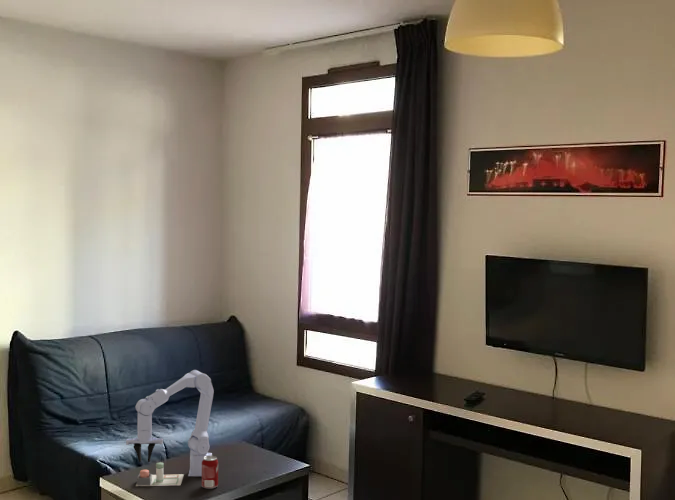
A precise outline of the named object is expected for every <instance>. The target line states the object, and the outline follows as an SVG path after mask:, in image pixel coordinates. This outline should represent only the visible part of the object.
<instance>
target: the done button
mask: <svg viewBox="0 0 675 500" xmlns="http://www.w3.org/2000/svg"><path fill="white" fill-rule="evenodd" d="M139 474H140V478H149V474H150V470H149V469H141V470H140V471H139Z"/></svg>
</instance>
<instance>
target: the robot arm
mask: <svg viewBox="0 0 675 500" xmlns="http://www.w3.org/2000/svg"><path fill="white" fill-rule="evenodd" d="M186 388H192V389H193V388H194V389H195V388H196V389H197V391H198V392H199V393H200V397H199V402H198V406H197V407H198V408H197V415H196V419H195V424H194V425H195V426H194V430H193V431H192V432H191V435H190V437H189V438H188V441H187V446H188V448H189V449H190V451H189V472H188V474H187V477H202V461H203V458H204V457H206V456H213V453H212V452H209V451H210V447H211V446H210V442H209V440H210V437H209V433H208V428H209V421H210V416H211V409H212V406H213V405H212V404H213V399H214V393H215V392H214V391H215V390H214V387H213V383H212V379H211V377H209V375H207V374H206V373H203V372H201V371H199V370H197V369H193V370H191V371H190V372H188V373H185V374H184V376H182V377H181V378H180V379H178V380H176V381H175V382H174V383H172V384H171V385H170V386H168V387H166V388H165V389H163V388H160V389H159V388H157V389H156V390H155V392H153V393H151V394H150V395H147V396H146V397H145V398H141V399H139V400H138V401H137V402H136V405H134V406H135V407H134V408H135V410H136V412H137V426H136V427H137V437H133V438H127V439H126V440H125V442H126V443H125V445H126V446H130V445H133V449H134V451H135V453H136V456H137V460H138V463H142V445H147V463H149V462H151V457H152V454H153V451H154V448H155V445H163V443H164V438H160V437H159V438H157V437H153V429H152V428H153V427H152V426H153V425H152V424H153V423H152V422H153V421H152V420H153V417H152V415H153V414H154V411H155V409H157V408H158V407H160V406H161V405H164V404H165V403H166V402H168V401H169V398H170V396H172V395H174V394H176V393H177V392H180V391H182V390H183V389H186Z"/></svg>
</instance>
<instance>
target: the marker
mask: <svg viewBox="0 0 675 500" xmlns="http://www.w3.org/2000/svg"><path fill="white" fill-rule="evenodd" d="M164 465H165V463H164V462H161V461H160V462H156V463H155V475H156V483H162V482H163V481H164V478H163V475H165V474H164V467H165V466H164Z"/></svg>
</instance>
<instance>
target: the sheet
mask: <svg viewBox="0 0 675 500" xmlns="http://www.w3.org/2000/svg"><path fill="white" fill-rule="evenodd" d="M184 475H185V474H184V473H183V474H182V473H181V474H179V473H178V474H176V473H175V474H164V475H163V478H164V481H163V482H162V483H156V474H152V482H151V484H150V485H137V483H136V484H135V487H154V486H156V487H157V486H159V487H161V486H165V487H167V486H181V484H182V482H183V480H184Z"/></svg>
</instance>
